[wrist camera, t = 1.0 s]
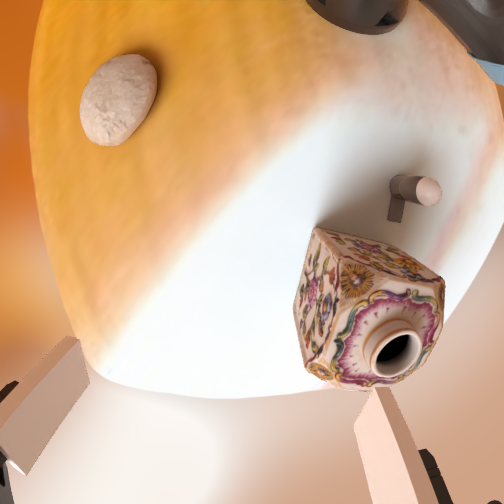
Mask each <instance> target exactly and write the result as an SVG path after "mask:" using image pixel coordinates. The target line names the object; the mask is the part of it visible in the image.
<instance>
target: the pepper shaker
mask: <svg viewBox="0 0 504 504" xmlns="http://www.w3.org/2000/svg"><path fill="white" fill-rule="evenodd" d="M390 192H391V194H392V195H393V196H394V197H395V198H396V199H399V200H403V201H408V202H412V203H416V204H420V205H424V206H433V205H435V204H436V203H437V202H438V201H439V200H440V197H441V188H440V185H439V184H438V182H437V181H436V180H435V179H433V178H431V177H423V176H406V175H397V176H395V177H394V178H393V179H392V180H391V182H390Z"/></svg>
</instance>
